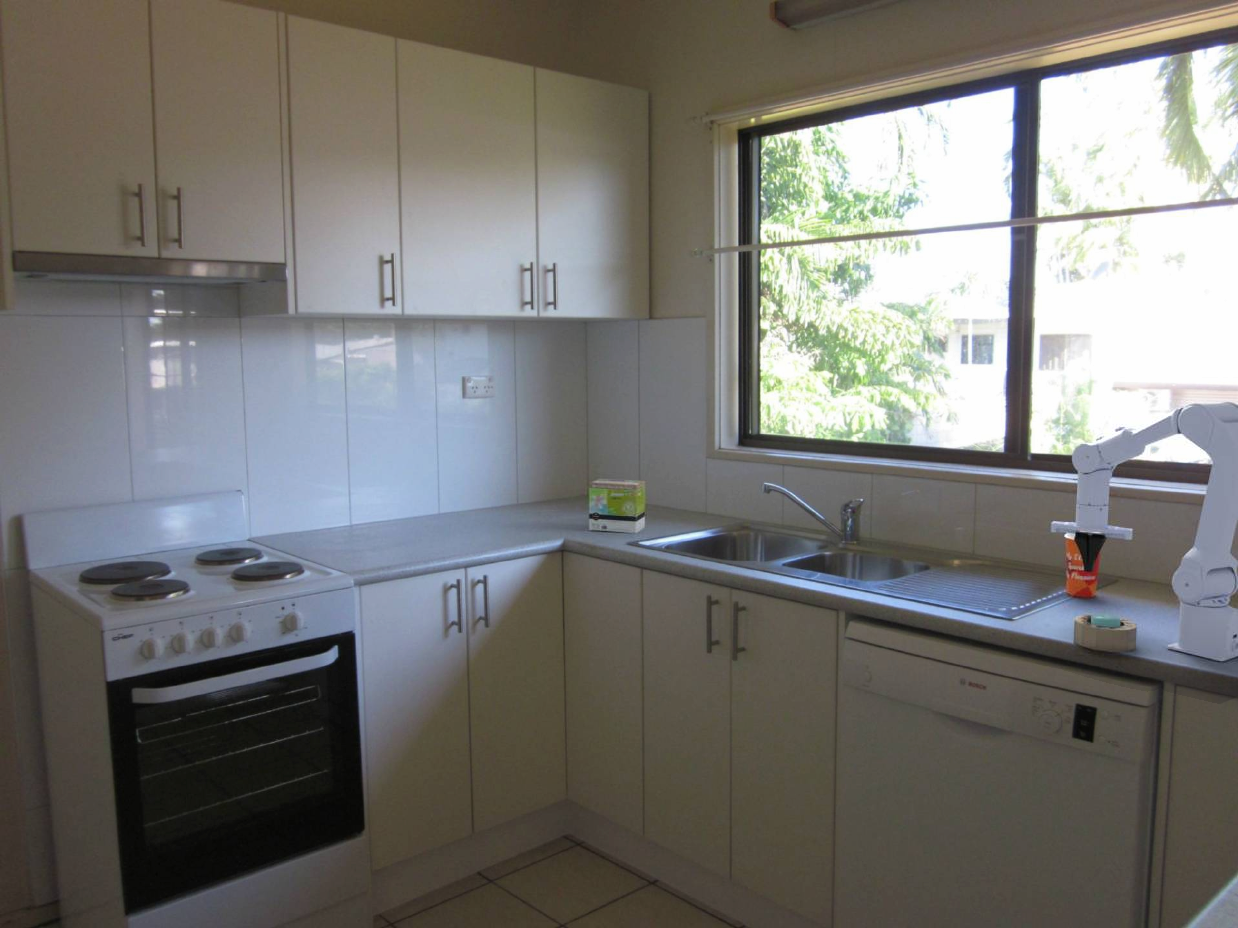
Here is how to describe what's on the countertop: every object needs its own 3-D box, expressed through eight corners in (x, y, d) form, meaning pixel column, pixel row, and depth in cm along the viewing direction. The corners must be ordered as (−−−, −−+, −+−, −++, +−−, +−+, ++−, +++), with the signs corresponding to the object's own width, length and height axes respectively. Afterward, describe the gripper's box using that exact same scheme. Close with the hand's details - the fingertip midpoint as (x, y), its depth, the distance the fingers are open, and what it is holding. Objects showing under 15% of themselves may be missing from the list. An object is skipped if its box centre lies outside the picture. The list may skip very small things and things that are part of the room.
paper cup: (1055, 594, 215) (1059, 531, 213) (1069, 588, 220) (1072, 526, 219) (1093, 600, 209) (1096, 536, 208) (1106, 594, 215) (1109, 531, 213)
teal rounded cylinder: (1124, 644, 179) (1125, 618, 178) (1110, 649, 176) (1111, 622, 175) (1099, 638, 183) (1100, 612, 182) (1084, 642, 180) (1085, 616, 179)
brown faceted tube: (1146, 645, 178) (1148, 624, 177) (1115, 655, 172) (1116, 633, 172) (1093, 632, 186) (1094, 611, 186) (1062, 641, 181) (1063, 620, 180)
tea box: (588, 531, 292) (587, 482, 290) (598, 525, 302) (598, 477, 300) (636, 533, 288) (636, 483, 286) (645, 527, 297) (645, 479, 296)
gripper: (1136, 504, 193) (1132, 572, 195) (1058, 498, 202) (1055, 562, 203) (1130, 509, 188) (1126, 578, 189) (1049, 502, 196) (1046, 569, 198)
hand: (1088, 571), depth 196 cm, fingers closed
